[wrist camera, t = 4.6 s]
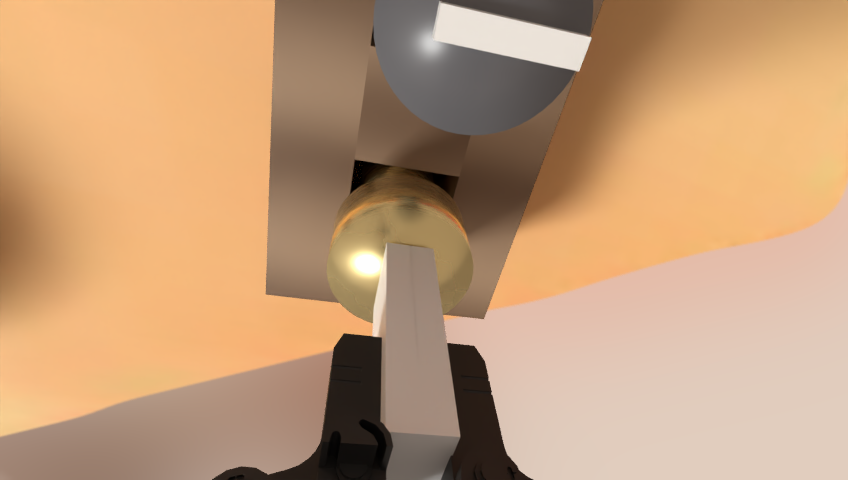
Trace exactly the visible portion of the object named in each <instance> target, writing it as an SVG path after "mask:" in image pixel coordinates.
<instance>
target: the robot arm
mask: <svg viewBox="0 0 848 480" xmlns="http://www.w3.org/2000/svg"><path fill="white" fill-rule="evenodd" d="M491 392H492V391H491V387H490V382H489V381H488V374H487V369H486V365H485V361H484V360H483V358H482V357H481V355H480V354H479V352H478V351H477V349H476V348H475V346H470V345H460V344H451V343H447V340H446V333H445V326H444V319H443V312H442V305H441V298H440V291H439V284H438V277H437V270H436V263H435V256H434V249H431V248H424V247H417V246H410V245H402V244H395V243H388V242H387V243H386V248H385V253H384V258H383V263H382V268H381V273H380V278H379V283H378V288H377V293H376V298H375V303H374V311H373V336H363V335H354V334H343V336H342V337H341V338H340V340H339V341H338V343H337V344H336V346H335V347H334V351H333V358H332V365H331V372H330V378H329V385H328V393H327V401H326V408H325V415H324V423H323V430H322V438H321V442H320V444H319V446H318V448H317V450H316V451H315V452H314V454H312V456H311V457H310V458H309V459H307V460H306V461H304V462H303V463H302V464H300V465H298V466H296V467H293V468H290V469H287V470H284V471H280V472H276V473H273V474H269V475H267V474H266V473H264V472H262V471H260V470H259V469H257V468H252V467H238V468H234V469H230V470H226V471H225V472H223V473H222V474H220V475H218V476H217V477H215V478H214V479H212V480H533V479H531V478H529V477H527V476H526V475H524V474H523V473H522V472H520V471H519V470H518V467H517V465H516V464H515V463H514V462H513V461H512V460H511V458H510V457H509V456H508V455H507V453H506V451H505V448H504V444H503V440H502V436H501V431H500V427H499V422H498V418H497V413H496V409H495V405H494V400H493V396H492V395H491Z"/></svg>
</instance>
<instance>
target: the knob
mask: <svg viewBox="0 0 848 480" xmlns="http://www.w3.org/2000/svg"><path fill="white" fill-rule="evenodd" d="M387 242H388V243H395V244H402V245H410V246H417V247H424V248H431V249H434V256H435V263H436V270H437V277H438V284H439V291H440V298H441V305H442V312H443V315H444V314H446V313H447V312H448V311H450V310H451V309H452V308H454V307H455V306H456V305H457V304H458V303H459V302H460V300H461V299H462V298H463V297H464V295H465V294H466V292H467V290H468V288H469V286H470V284H471V280H472V276H473V268H474V267H473V258H472V254H471V250H470V246H469V242H468V239H467V235H466V231H465V227H464V223H463V220H462V216H461V213H460V211H459V208H458V206H457V205H456V203H455V201H454V200H453V199H452V198H451V197H450V195H449V194H448V193H446V192H445V191H444V190H443V189H442V188H440V187H439V186H437V185H436V184H434V182H433V176H432V172H427V171H421V170H415V169H409V168H403V167H397V166H391V165H385V164H379V163H373V162H367V161H363V169H362V179H361V186H360V187H358V188H357V189H356V190H354V191H353V192H352V193H351V194H350V195H349V196H348V197H347V198H346V199H345V201H344V202H343V203H342V205H341V206H340V208H339V210H338V213H337V215H336V218H335V223H334V228H333V234H332V239H331V245H330V250H329V256H328V261H327V278H328V282H329V286H330V288H331V290H332V292H333V294H334V296H335V297H336V299H337V300H338V301H339V302H340V304H341V305H342V306H343V307H344V308H346V309H347V310H348V311H349V312H351V313H352V314H354V315H355V316H357V317H359V318H361V319H363V320H365V321H368V322H371V323H373V311H374V303H375V298H376V293H377V288H378V283H379V278H380V273H381V268H382V263H383V258H384V253H385V248H386V243H387Z"/></svg>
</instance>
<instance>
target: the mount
mask: <svg viewBox="0 0 848 480" xmlns="http://www.w3.org/2000/svg"><path fill="white" fill-rule="evenodd" d="M602 3H603V0H593V18H592V26H591V31H590V35H591V32H592V30H593V27H594V24H595V22H596V19H597V16H598V14H599V11H600V8H601V6H602ZM374 5H375V0H275V21H274V53H273V84H272V116H271V147H270V179H269V210H268V242H267V273H266V294H267V295H275V296H284V297H293V298H302V299H311V300H320V301H328V302H337V303H340V302H339V301H338V300H337V299H336V297H335V296H334V294H333V292H332V290H331V288H330V286H329V282H328V278H327V261H328V256H329V250H330V245H331V239H332V234H333V228H334V223H335V218H336V215H337V213H338V210H339V208H340V206H341V205H342V203H343V202H344V201H345V199H346V198H347V197H348V196H349V195H350V194H351V193H352V192H353V191H354V190H356V189H357V188H358V187H360V186H361V184H356V183H352V178H353V171H354V163H355V160H361V161H367V162H373V163H379V164H385V165H391V166H397V167H403V168H409V169H415V170H421V171H427V172H432V176H433V182H434V184H436V185H437V186H439V187H440V188H442V189H443V190H444V191H445V192H446V193H448V194H449V195H450V197H451V198H452V199H453V200H454V201H455V203H456V205H457V206H458V208H459V211H460V213H461V216H462V220H463V223H464V227H465V231H466V235H467V239H468V242H469V246H470V250H471V254H472V258H473V267H474V268H473V276H472V280H471V284H470V286H469V288H468V290H467V292H466V294H465V295H464V297H463V298H462V299H461V300H460V302H459V303H458V304H457V305H456V306H455V307H454V308H452V309H451V310H450V311H448V312H447V313H446V314H444V315H452V316H461V317H470V318H479V319H484V317H485V314H486V312H487V309H488V307H489V304H490V301H491V299H492V296H493V293H494V291H495V288H496V285H497V283H498V280H499V277H500V275H501V272H502V269H503V267H504V264H505V261H506V259H507V256H508V253H509V251H510V248H511V245H512V243H513V240H514V237H515V235H516V232H517V229H518V227H519V224H520V221H521V219H522V216H523V213H524V211H525V208H526V205H527V203H528V200H529V197H530V195H531V192H532V189H533V187H534V184H535V181H536V179H537V176H538V173H539V171H540V168H541V165H542V163H543V160H544V157H545V155H546V152H547V149H548V147H549V144H550V141H551V139H552V136H553V133H554V131H555V128H556V125H557V123H558V120H559V117H560V115H561V112H562V110H563V107H564V104H565V102H566V99H567V96H568V94H569V91H570V88H571V86H572V83H573V80H574V78H575V75H576V72H577V71H576V72H575V73H574V75H573V77H572V78H571V80H570V81H569V83H568V84H567V85H566V87H565V88H564V90H563V91H562V92H561V93H560V94H559V95H558V96H557V98H556V99H555V100H554V101H553V102H552V103H551V104H550V105H548V106H547V107H546V108H545V109H544V110H543V111H541V112H540V113H539V114H537V115H536V116H534V117H533V118H531V119H530V120H528V121H526V122H524V123H522V124H520V125H518V126H516V127H513V128H511V129H508V130H505V131H501V132H498V133H493V134H486V135H463V134H456V133H452V132H448V131H444V130H441V129H439V128H436V127H434V126H432V125H430V124H428V123H426V122H425V121H423V120H421V119H420V118H419V117H417V116H416V115H415V114H413V113H412V112H411V111H410V110H409V109H408V108H407V107H406V106H405V105H404V104H403V103H402V102H401V101H400V100H399V98H398V97H397V96H396V95H395V93H394V92H393V90H392V89H391V87H390V85H389V84H388V82H387V80H386V78H385V76H384V74H383V71H382V69H381V66H380V63H379V60H378V56H377V53H376V47H375V41H374V28H373V18H374Z"/></svg>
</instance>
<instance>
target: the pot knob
mask: <svg viewBox="0 0 848 480" xmlns="http://www.w3.org/2000/svg"><path fill="white" fill-rule="evenodd" d="M592 18H593V0H375V5H374V18H373V28H374V41H375V47H376V53H377V56H378V60H379V63H380V66H381V69H382V71H383V74H384V76H385V78H386V80H387V82H388V84H389V85H390V87H391V89H392V90H393V92H394V93H395V95H396V96H397V97H398V98H399V100H400V101H401V102H402V103H403V104H404V105H405V106H406V107H407V108H408V109H409V110H410V111H411V112H412V113H413V114H415V115H416V116H417V117H419V118H420V119H421V120H423V121H425V122H426V123H428V124H430V125H432V126H434V127H436V128H439V129H441V130H444V131H448V132H452V133H456V134H463V135H486V134H493V133H498V132H501V131H505V130H508V129H511V128H513V127H516V126H518V125H520V124H522V123H524V122H526V121H528V120H530V119H531V118H533V117H534V116H536V115H537V114H539V113H540V112H541V111H543V110H544V109H545V108H546V107H547V106H548V105H550V104H551V103H552V102H553V101H554V100H555V99H556V98H557V96H558V95H559V94H560V93H561V92H562V91H563V90H564V88H565V87H566V85H567V84H568V83H569V81H570V80H571V78H572V77H573V75H574V73H575V72H576V71H579V70H580V68H581V65H582V62H583V60H584V57H585V55H586V52H587V49H588V47H589V44H590V41H591V39H592V37H590V31H591V26H592Z"/></svg>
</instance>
